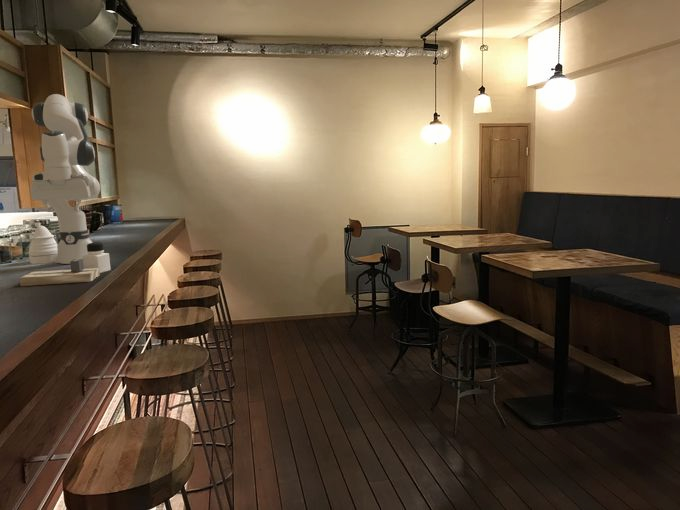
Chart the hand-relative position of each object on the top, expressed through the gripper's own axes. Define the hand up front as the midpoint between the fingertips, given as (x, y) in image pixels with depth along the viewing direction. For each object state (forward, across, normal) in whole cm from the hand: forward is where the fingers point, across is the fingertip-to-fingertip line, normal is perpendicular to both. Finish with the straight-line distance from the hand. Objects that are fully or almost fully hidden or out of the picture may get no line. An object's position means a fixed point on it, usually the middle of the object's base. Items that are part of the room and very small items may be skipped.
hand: (63, 211), depth 195 cm
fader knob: (+22, -5, +8) cm, 24 cm away
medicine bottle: (+26, -8, -6) cm, 28 cm away
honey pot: (+28, +25, -43) cm, 57 cm away
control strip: (+25, +1, +8) cm, 26 cm away
